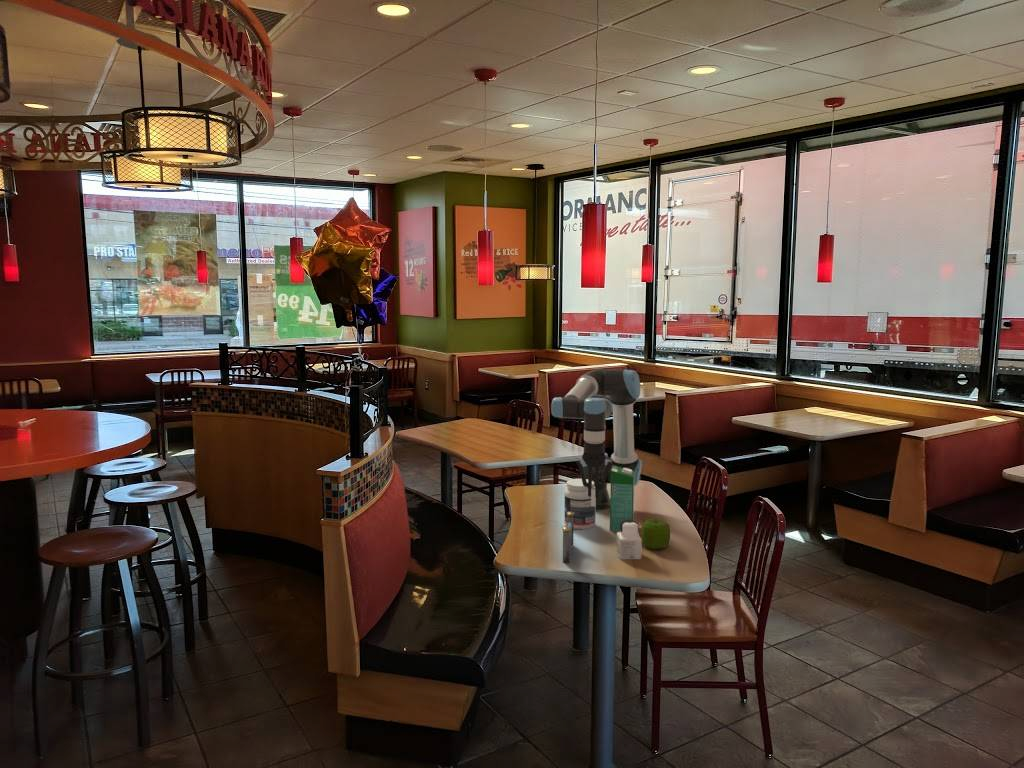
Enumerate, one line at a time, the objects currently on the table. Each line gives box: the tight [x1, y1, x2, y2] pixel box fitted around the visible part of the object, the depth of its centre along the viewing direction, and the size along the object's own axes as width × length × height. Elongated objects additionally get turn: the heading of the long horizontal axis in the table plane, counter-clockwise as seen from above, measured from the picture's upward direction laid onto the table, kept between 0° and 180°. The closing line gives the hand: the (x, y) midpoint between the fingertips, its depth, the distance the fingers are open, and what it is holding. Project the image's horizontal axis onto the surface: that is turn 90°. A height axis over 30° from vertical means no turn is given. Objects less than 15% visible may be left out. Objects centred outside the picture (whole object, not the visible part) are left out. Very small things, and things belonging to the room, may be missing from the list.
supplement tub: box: [563, 478, 597, 531], centre depth 295 cm, size 13×13×18 cm
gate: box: [568, 522, 572, 558], centre depth 265 cm, size 13×2×9 cm, turn 173°
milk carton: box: [609, 465, 635, 532], centre depth 292 cm, size 9×9×25 cm
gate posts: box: [561, 512, 574, 564], centre depth 265 cm, size 20×3×13 cm, turn 170°
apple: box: [640, 518, 672, 550], centre depth 272 cm, size 11×11×11 cm
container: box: [616, 519, 643, 561], centre depth 263 cm, size 8×8×13 cm
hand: (593, 505), depth 260 cm, fingers closed
